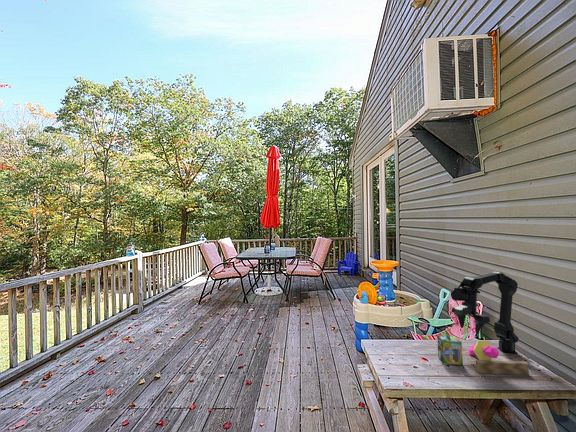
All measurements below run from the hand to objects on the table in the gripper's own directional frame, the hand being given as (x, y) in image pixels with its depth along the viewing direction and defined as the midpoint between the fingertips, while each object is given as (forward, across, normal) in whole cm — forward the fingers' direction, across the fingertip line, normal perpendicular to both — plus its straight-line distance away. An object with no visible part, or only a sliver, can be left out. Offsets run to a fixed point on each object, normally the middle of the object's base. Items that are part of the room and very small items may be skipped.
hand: (469, 330), depth 153 cm
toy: (+13, +4, +6) cm, 15 cm away
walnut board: (+13, +18, +1) cm, 22 cm away
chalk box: (+15, +1, -13) cm, 20 cm away
